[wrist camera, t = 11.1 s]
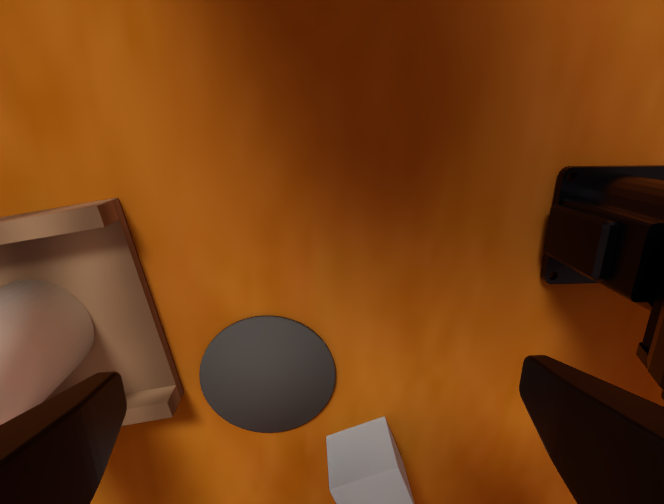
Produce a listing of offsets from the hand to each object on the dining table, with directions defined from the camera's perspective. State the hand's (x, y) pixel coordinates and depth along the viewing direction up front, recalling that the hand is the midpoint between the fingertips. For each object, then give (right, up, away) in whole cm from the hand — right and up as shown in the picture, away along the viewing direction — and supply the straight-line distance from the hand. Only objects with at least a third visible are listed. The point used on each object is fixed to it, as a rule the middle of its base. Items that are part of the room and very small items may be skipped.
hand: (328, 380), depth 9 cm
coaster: (-4, -5, +15) cm, 16 cm away
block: (+2, -10, +17) cm, 20 cm away
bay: (-16, -1, +13) cm, 20 cm away
